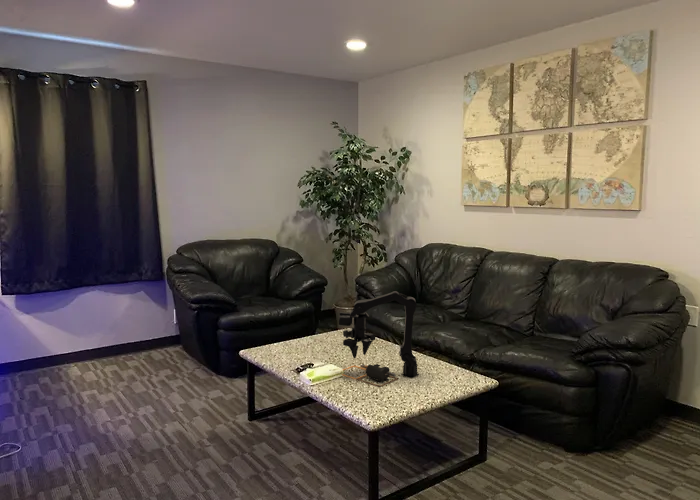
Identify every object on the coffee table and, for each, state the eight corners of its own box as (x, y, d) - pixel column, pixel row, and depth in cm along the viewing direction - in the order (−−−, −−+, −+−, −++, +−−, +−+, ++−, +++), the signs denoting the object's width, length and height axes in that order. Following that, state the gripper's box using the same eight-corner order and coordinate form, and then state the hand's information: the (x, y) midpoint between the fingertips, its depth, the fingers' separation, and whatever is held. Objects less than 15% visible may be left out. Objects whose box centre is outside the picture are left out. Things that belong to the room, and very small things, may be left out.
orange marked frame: (375, 372, 266) (375, 371, 266) (356, 379, 256) (356, 378, 256) (354, 366, 276) (354, 365, 276) (334, 373, 266) (334, 372, 265)
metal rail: (395, 376, 261) (395, 373, 260) (393, 376, 259) (393, 374, 259) (362, 366, 275) (362, 364, 275) (360, 367, 274) (360, 364, 274)
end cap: (365, 379, 257) (365, 365, 256) (375, 375, 262) (375, 362, 261) (380, 384, 250) (380, 370, 249) (390, 380, 255) (390, 366, 254)
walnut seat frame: (398, 379, 256) (398, 378, 256) (379, 387, 246) (379, 386, 245) (375, 372, 266) (375, 371, 266) (356, 380, 255) (356, 379, 255)
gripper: (359, 320, 273) (359, 349, 275) (334, 326, 259) (335, 357, 261) (376, 323, 266) (375, 353, 267) (351, 330, 252) (351, 362, 254)
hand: (359, 356), depth 263 cm, fingers open, 7 cm apart
